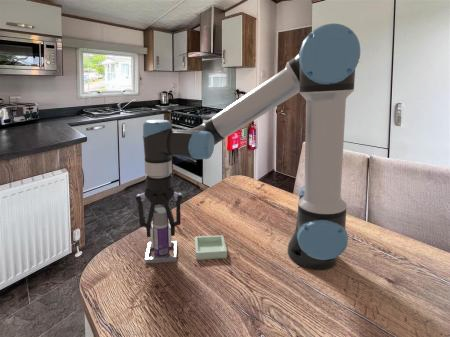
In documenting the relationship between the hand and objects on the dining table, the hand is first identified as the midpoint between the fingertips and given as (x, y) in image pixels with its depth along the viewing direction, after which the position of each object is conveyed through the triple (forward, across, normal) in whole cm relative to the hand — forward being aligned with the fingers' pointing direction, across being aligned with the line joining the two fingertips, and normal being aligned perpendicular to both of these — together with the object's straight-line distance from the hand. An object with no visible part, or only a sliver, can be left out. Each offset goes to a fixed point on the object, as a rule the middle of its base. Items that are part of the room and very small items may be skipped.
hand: (161, 244), depth 88 cm
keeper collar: (+3, 0, 0) cm, 3 cm away
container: (+3, 0, 0) cm, 3 cm away
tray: (+3, -15, 0) cm, 16 cm away
